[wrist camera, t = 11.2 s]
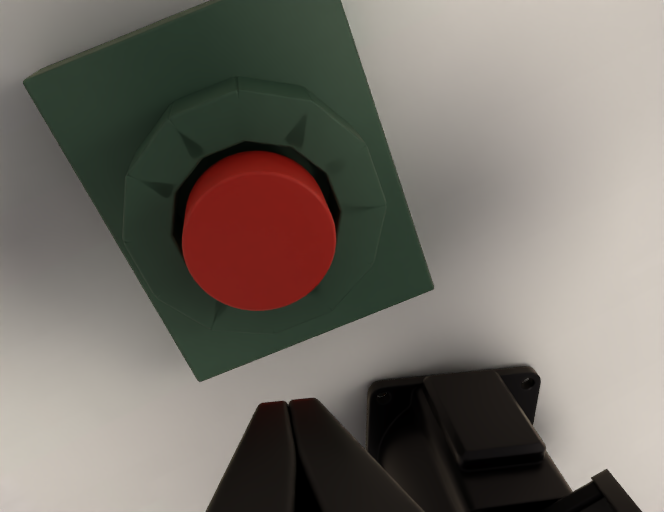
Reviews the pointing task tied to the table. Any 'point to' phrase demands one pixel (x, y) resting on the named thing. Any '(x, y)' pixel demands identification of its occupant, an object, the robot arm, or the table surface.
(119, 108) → the button box
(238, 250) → the button
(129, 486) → the table surface
